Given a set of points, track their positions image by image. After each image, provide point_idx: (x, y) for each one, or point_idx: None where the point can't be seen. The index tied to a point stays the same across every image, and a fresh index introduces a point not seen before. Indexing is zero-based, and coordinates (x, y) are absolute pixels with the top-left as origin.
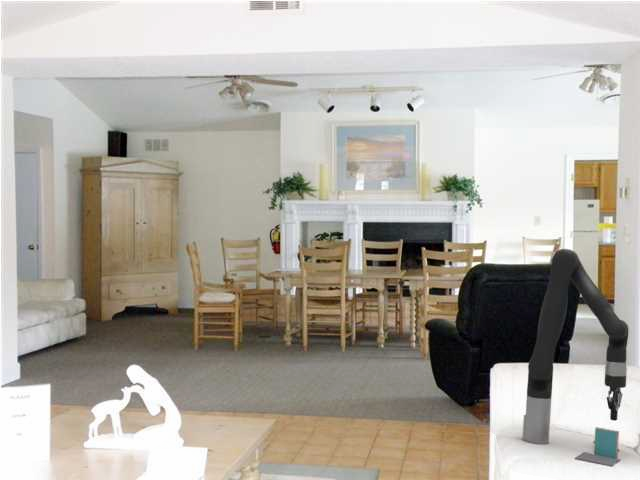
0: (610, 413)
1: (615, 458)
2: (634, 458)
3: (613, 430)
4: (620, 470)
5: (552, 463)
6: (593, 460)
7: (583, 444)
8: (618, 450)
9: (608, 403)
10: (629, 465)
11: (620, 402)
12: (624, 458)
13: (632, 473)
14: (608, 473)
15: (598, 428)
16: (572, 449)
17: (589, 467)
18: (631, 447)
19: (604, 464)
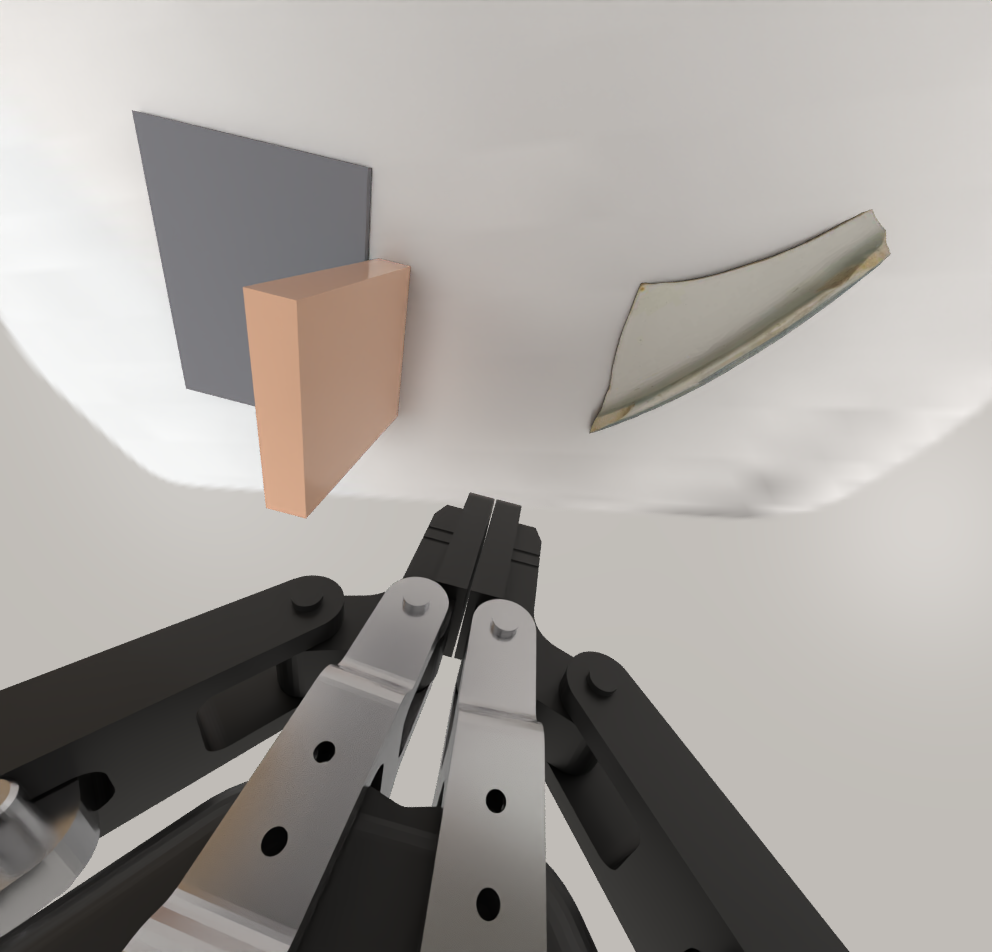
0: (449, 540)
1: None
2: None
3: (287, 475)
4: (163, 427)
5: None
6: (192, 271)
7: (715, 118)
8: (592, 427)
9: (108, 664)
10: None
11: (626, 838)
12: (430, 453)
13: (167, 476)
14: (51, 369)
15: (247, 326)
16: (437, 25)
17: (49, 255)
18: (762, 505)
19: (180, 345)
